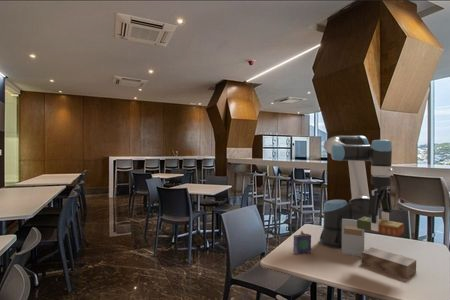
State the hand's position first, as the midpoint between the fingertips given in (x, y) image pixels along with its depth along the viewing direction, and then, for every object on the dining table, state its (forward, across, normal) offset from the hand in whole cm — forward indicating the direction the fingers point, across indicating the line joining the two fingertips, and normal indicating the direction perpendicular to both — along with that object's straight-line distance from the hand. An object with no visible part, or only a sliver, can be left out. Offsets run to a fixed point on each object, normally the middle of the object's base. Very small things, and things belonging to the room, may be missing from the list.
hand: (379, 228), depth 116 cm
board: (+17, +7, +16) cm, 24 cm away
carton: (+1, 0, 0) cm, 1 cm away
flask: (+17, -14, +30) cm, 37 cm away
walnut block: (+17, +4, -2) cm, 18 cm away
